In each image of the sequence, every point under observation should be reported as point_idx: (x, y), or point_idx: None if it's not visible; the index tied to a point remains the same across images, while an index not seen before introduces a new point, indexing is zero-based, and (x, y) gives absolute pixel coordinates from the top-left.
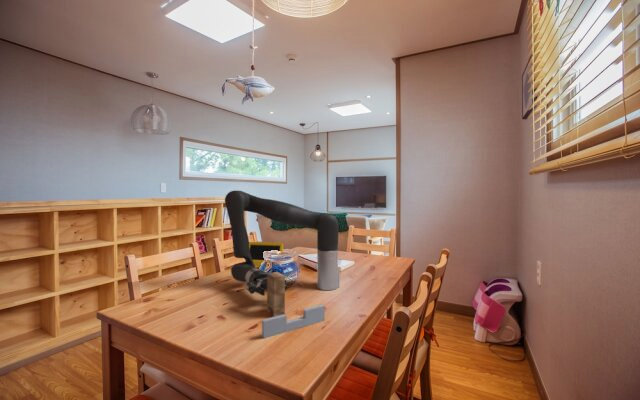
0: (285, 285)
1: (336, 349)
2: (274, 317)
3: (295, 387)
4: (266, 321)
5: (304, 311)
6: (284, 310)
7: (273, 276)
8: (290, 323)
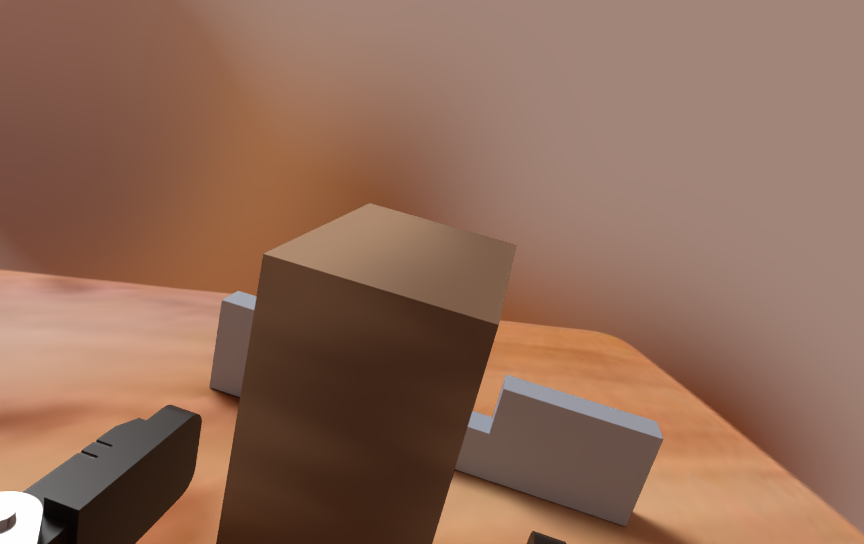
0: (179, 408)
1: None
2: (578, 406)
3: (621, 343)
4: (640, 418)
5: None
6: None
7: (503, 252)
8: None
